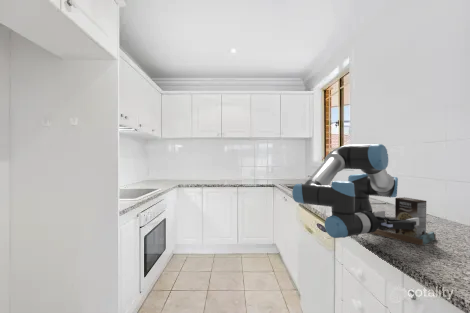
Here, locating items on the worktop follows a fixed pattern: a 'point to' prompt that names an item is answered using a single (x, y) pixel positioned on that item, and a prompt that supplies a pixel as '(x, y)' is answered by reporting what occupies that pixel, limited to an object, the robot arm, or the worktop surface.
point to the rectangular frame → (421, 241)
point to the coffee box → (411, 215)
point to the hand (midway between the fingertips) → (400, 217)
